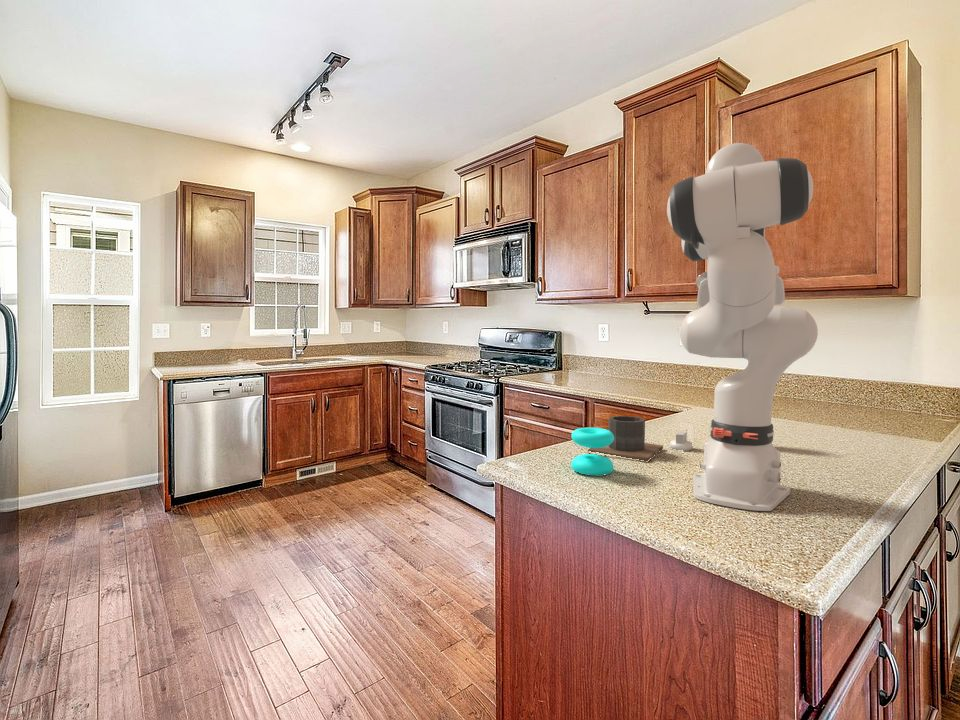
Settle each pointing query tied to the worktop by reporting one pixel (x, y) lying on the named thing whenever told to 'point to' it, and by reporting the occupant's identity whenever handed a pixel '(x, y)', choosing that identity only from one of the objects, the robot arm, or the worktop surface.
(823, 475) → the worktop surface
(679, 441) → the block on round base
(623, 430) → the cylinder on base plate
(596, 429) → the donuts
